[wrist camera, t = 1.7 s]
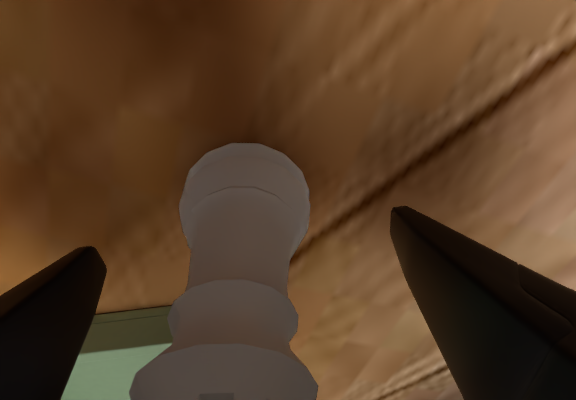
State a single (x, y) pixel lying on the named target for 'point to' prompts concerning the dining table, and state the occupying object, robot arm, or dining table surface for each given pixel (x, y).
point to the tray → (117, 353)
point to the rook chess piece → (235, 283)
